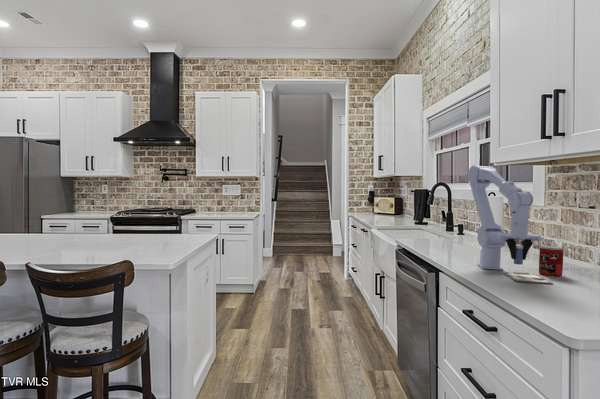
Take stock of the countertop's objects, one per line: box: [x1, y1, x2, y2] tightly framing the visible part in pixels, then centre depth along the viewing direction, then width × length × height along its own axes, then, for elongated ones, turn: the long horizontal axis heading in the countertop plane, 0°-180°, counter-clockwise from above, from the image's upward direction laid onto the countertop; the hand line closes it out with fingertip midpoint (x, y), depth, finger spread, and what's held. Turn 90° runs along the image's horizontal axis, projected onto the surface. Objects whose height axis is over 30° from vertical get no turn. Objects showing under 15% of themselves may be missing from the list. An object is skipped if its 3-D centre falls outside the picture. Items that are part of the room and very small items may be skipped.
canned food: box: [538, 244, 564, 278], centre depth 154 cm, size 8×8×11 cm
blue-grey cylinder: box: [513, 244, 524, 266], centre depth 150 cm, size 3×3×7 cm
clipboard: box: [503, 271, 554, 285], centre depth 146 cm, size 14×12×1 cm
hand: (518, 259), depth 150 cm, fingers closed on blue-grey cylinder, 3 cm apart
